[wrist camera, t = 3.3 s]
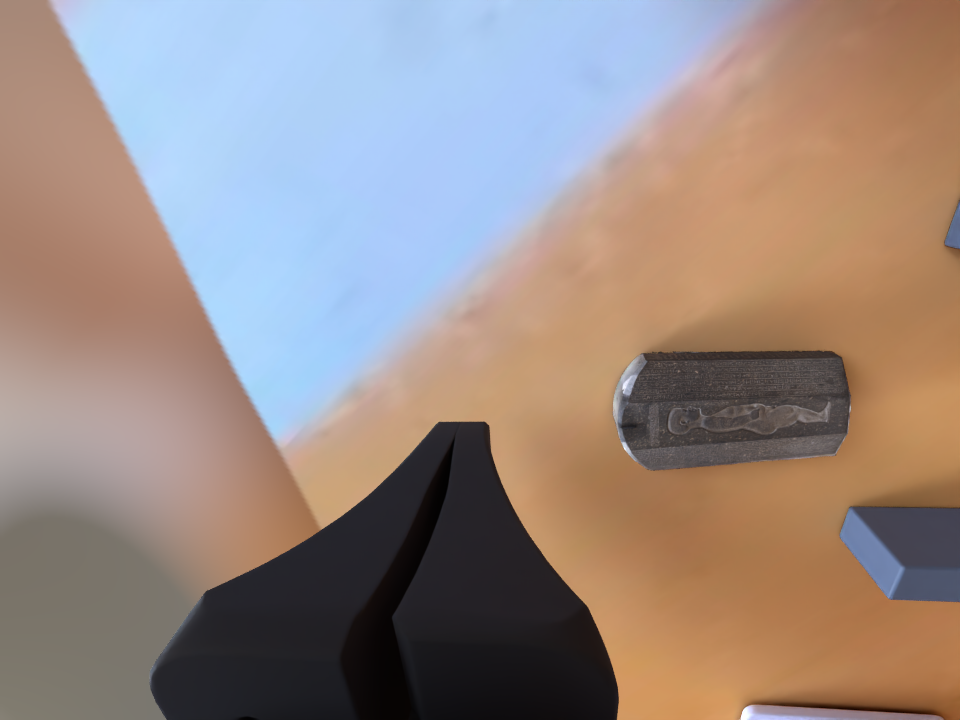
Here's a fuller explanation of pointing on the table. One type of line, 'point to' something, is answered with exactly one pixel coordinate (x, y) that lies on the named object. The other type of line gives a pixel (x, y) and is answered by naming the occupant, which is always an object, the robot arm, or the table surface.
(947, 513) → the bay
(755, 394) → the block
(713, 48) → the table surface
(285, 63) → the table surface
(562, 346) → the table surface
